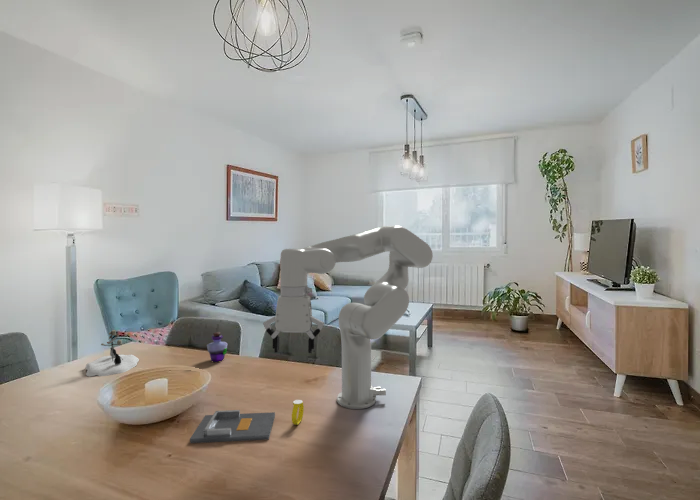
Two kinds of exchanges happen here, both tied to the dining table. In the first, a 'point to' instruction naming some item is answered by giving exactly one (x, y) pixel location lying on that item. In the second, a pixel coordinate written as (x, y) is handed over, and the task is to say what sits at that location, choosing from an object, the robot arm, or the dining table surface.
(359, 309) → the robot arm
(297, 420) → the watch
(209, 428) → the gray fixture board
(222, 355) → the potion bottle
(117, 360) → the figurine
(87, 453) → the dining table surface
